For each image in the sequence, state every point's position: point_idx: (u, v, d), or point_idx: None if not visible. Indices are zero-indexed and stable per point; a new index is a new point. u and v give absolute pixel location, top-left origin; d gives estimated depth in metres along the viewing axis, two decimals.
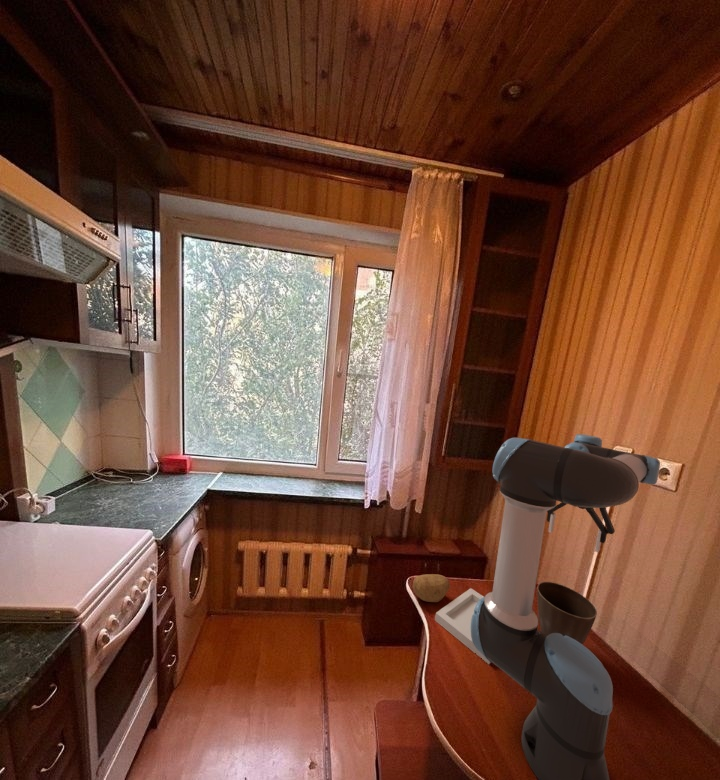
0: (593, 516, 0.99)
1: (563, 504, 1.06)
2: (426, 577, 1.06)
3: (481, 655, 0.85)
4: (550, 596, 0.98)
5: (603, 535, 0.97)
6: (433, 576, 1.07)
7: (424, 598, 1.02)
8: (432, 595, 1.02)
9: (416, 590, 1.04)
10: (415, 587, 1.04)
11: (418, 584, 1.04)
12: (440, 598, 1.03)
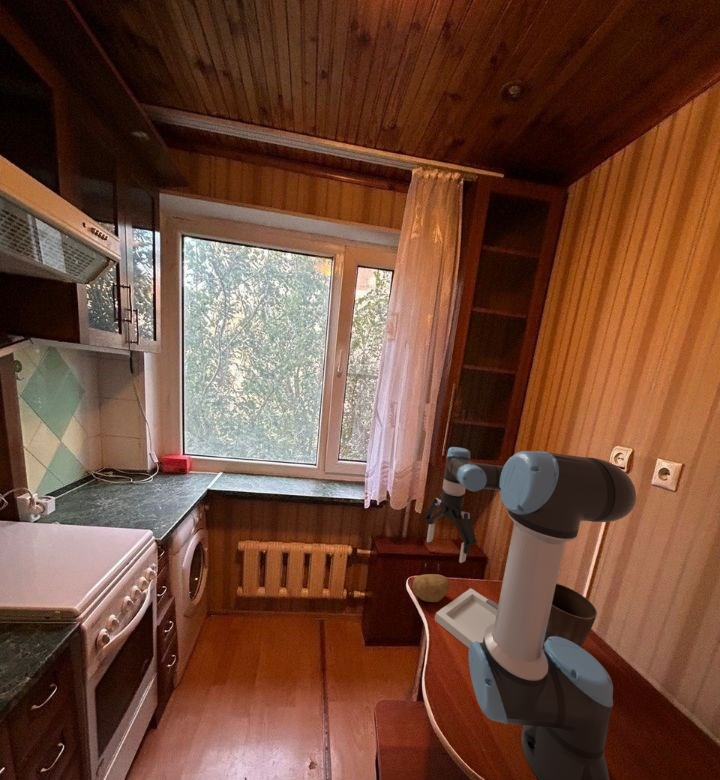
0: (459, 527, 1.02)
1: (438, 515, 1.08)
2: (426, 577, 1.06)
3: None
4: None
5: (466, 546, 1.00)
6: (433, 576, 1.07)
7: (424, 598, 1.02)
8: (432, 595, 1.02)
9: (416, 590, 1.04)
10: (415, 587, 1.04)
11: (418, 584, 1.04)
12: (440, 598, 1.03)
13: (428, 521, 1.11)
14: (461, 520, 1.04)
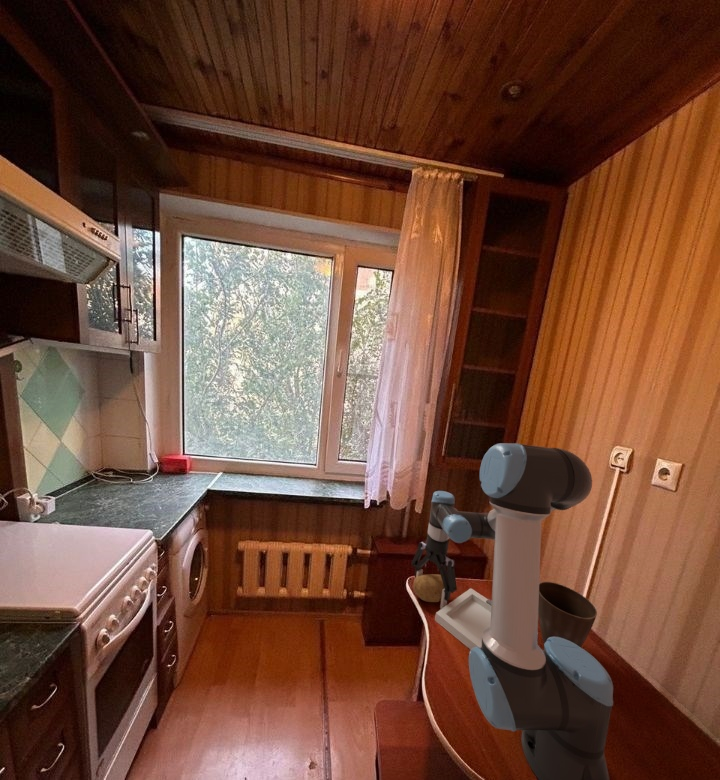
0: (441, 573, 1.03)
1: (424, 560, 1.08)
2: (426, 577, 1.06)
3: None
4: (550, 596, 0.98)
5: (446, 593, 1.02)
6: (433, 576, 1.07)
7: (424, 598, 1.02)
8: (432, 595, 1.02)
9: (416, 590, 1.04)
10: (415, 587, 1.04)
11: (418, 584, 1.04)
12: (440, 598, 1.03)
13: (416, 568, 1.11)
14: (445, 565, 1.05)
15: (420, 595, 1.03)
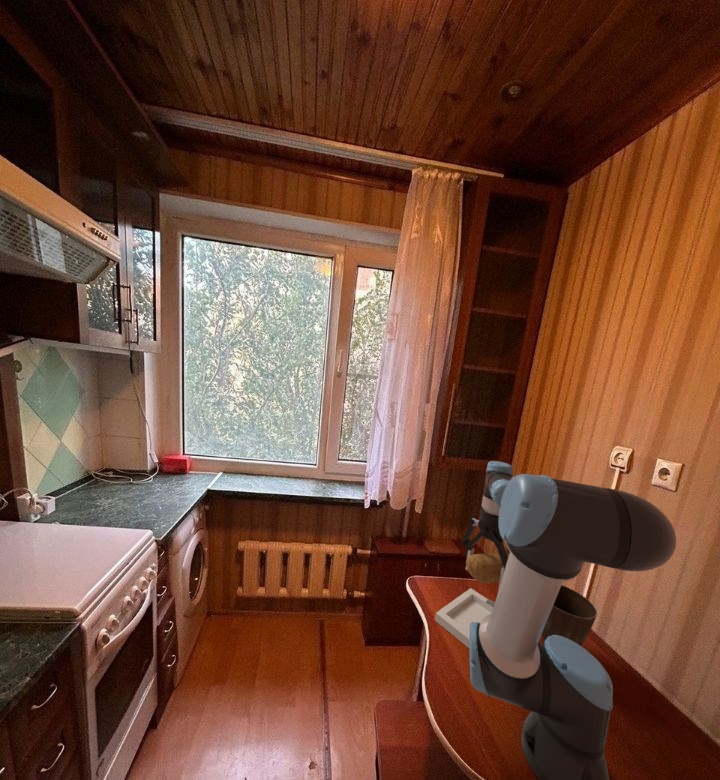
0: (500, 551, 0.93)
1: (477, 537, 0.98)
2: (481, 556, 0.96)
3: None
4: None
5: None
6: (488, 555, 0.97)
7: (481, 578, 0.92)
8: (490, 574, 0.92)
9: (472, 570, 0.94)
10: (470, 566, 0.94)
11: (473, 563, 0.94)
12: (499, 578, 0.93)
13: (467, 547, 1.01)
14: (502, 543, 0.95)
15: (476, 575, 0.93)
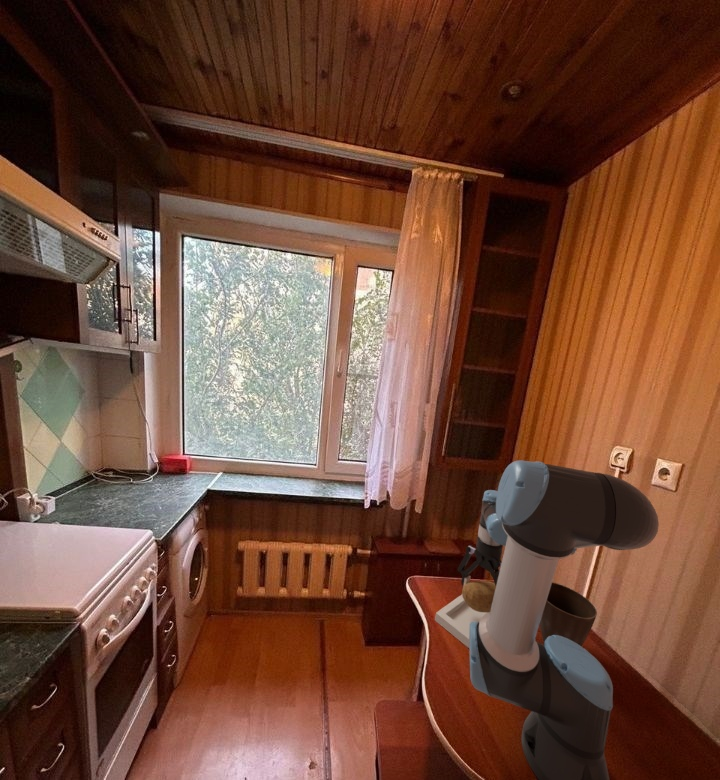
0: (496, 581, 0.93)
1: (474, 566, 0.99)
2: (477, 585, 0.96)
3: None
4: (550, 596, 0.98)
5: None
6: (484, 583, 0.98)
7: (477, 608, 0.93)
8: (486, 605, 0.92)
9: (468, 599, 0.94)
10: (466, 596, 0.95)
11: (469, 593, 0.94)
12: None
13: (463, 574, 1.01)
14: (498, 572, 0.95)
15: (472, 605, 0.93)
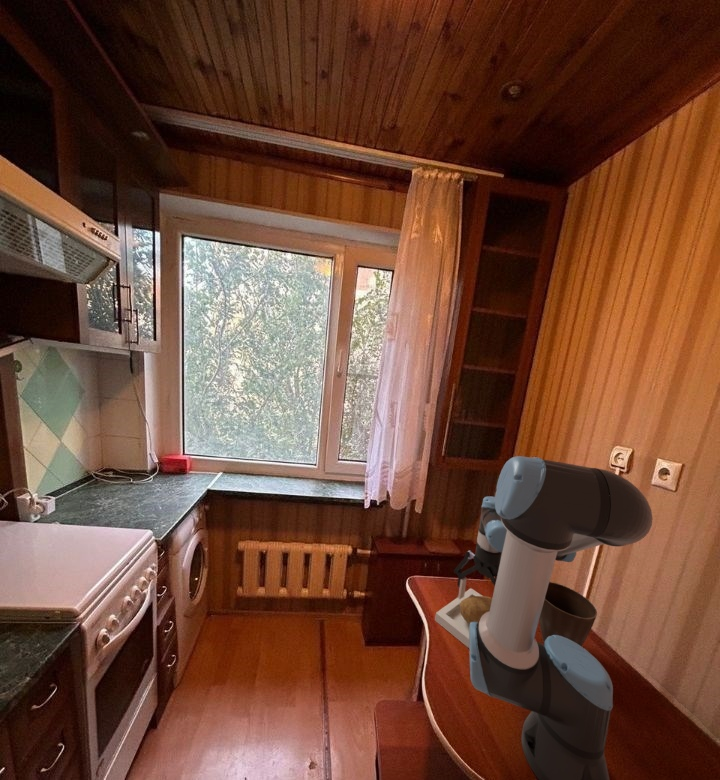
0: None
1: (471, 570, 0.99)
2: (475, 600, 0.97)
3: None
4: (550, 596, 0.98)
5: None
6: (482, 599, 0.98)
7: None
8: None
9: (465, 615, 0.94)
10: (464, 612, 0.95)
11: (467, 609, 0.94)
12: None
13: (459, 576, 1.02)
14: None
15: (470, 621, 0.93)
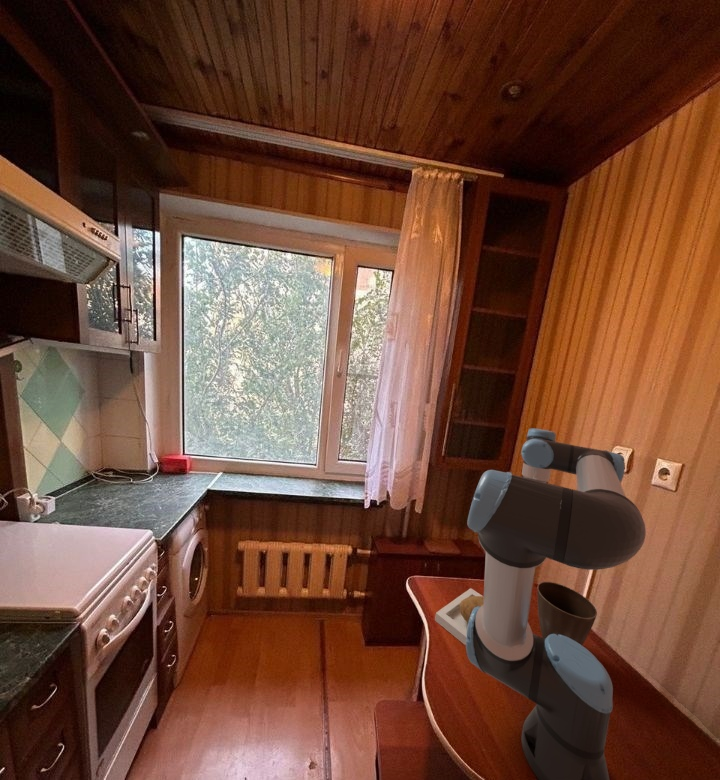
0: None
1: None
2: (475, 600, 0.97)
3: None
4: (550, 596, 0.98)
5: None
6: (482, 599, 0.98)
7: None
8: None
9: (465, 615, 0.94)
10: (464, 612, 0.95)
11: (467, 609, 0.94)
12: None
13: None
14: None
15: None
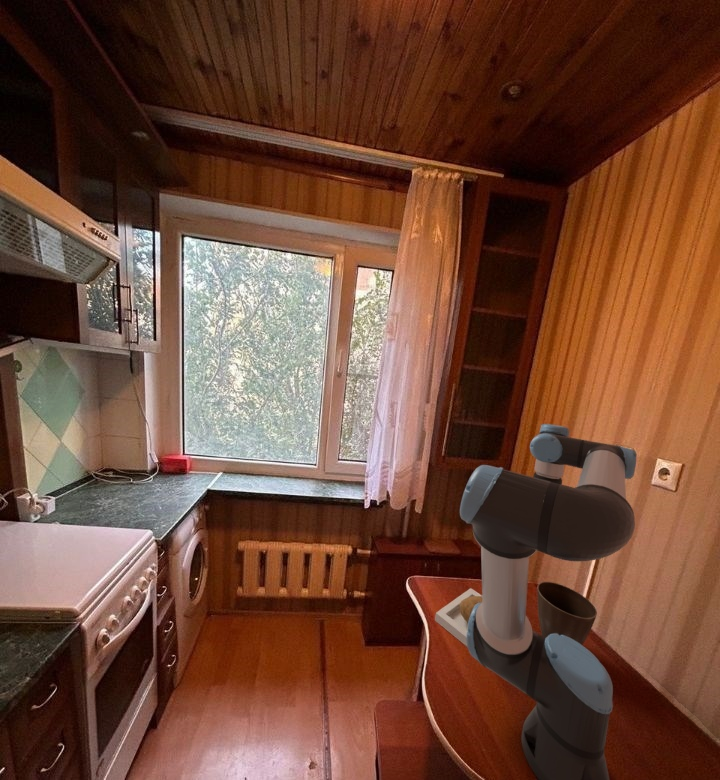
0: None
1: None
2: (475, 600, 0.97)
3: None
4: (550, 596, 0.98)
5: None
6: None
7: None
8: None
9: (465, 615, 0.94)
10: (464, 612, 0.95)
11: (467, 609, 0.94)
12: None
13: None
14: None
15: None
